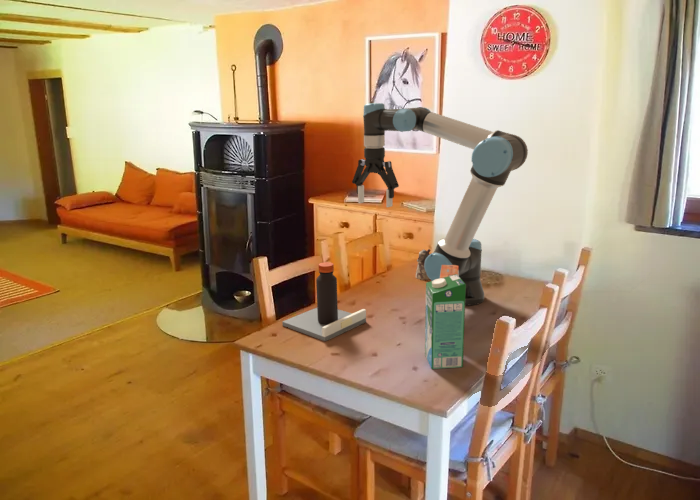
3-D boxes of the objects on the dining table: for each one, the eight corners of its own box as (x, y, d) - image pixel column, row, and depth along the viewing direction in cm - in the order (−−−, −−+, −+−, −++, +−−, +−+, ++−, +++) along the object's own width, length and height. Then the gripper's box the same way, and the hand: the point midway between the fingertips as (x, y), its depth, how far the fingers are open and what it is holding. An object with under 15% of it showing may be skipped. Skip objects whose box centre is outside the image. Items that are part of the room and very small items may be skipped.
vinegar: (318, 325, 187) (316, 268, 181) (316, 318, 193) (314, 261, 188) (339, 324, 188) (337, 266, 182) (336, 316, 194) (335, 260, 189)
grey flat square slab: (366, 322, 193) (366, 309, 191) (326, 341, 178) (325, 328, 177) (323, 308, 206) (323, 296, 205) (282, 325, 192) (281, 313, 190)
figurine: (413, 275, 240) (413, 248, 237) (428, 273, 242) (429, 246, 239) (419, 280, 234) (419, 252, 231) (435, 278, 235) (435, 251, 232)
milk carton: (424, 355, 168) (425, 274, 161) (454, 353, 169) (457, 273, 162) (431, 369, 159) (433, 285, 153) (463, 367, 160) (465, 283, 153)
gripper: (408, 147, 201) (408, 206, 206) (355, 144, 217) (356, 199, 223) (395, 149, 195) (395, 210, 201) (342, 146, 211) (343, 202, 217)
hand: (375, 204), depth 212 cm, fingers open, 13 cm apart
